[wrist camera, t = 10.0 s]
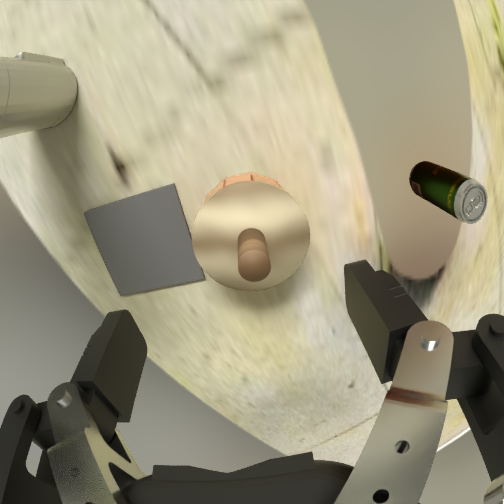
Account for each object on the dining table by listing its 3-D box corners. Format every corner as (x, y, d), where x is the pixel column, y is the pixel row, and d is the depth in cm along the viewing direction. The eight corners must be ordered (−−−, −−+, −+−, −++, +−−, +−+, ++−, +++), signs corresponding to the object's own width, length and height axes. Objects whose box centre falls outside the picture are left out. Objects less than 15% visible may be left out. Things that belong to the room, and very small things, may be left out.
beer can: (417, 202, 38) (467, 234, 27) (401, 174, 36) (453, 200, 26) (440, 180, 37) (492, 207, 26) (425, 152, 35) (480, 172, 24)
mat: (85, 212, 36) (83, 213, 36) (174, 183, 36) (173, 184, 35) (121, 294, 42) (120, 295, 42) (204, 276, 42) (204, 278, 41)
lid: (178, 197, 30) (163, 218, 24) (298, 169, 30) (314, 184, 24) (211, 296, 36) (207, 332, 30) (314, 274, 35) (329, 307, 29)
